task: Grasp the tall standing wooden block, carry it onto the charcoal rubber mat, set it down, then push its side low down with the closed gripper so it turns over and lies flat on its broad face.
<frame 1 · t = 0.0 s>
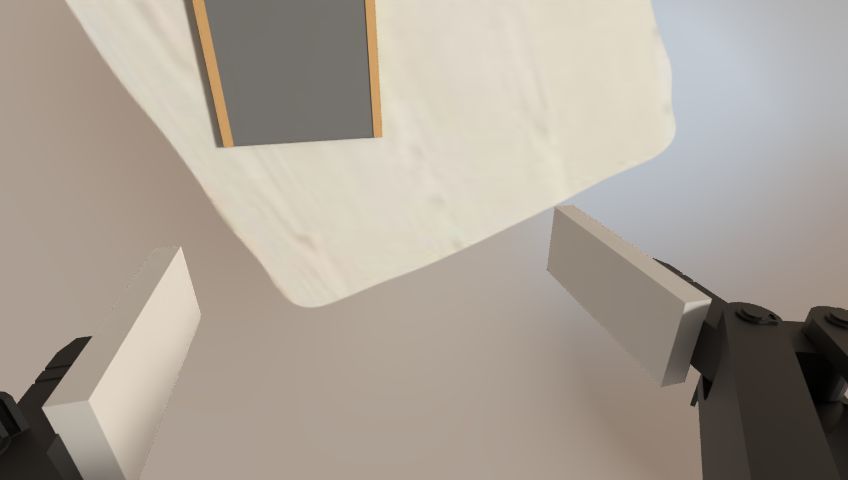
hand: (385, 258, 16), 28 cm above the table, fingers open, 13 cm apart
mat: (295, 58, 37), on the table
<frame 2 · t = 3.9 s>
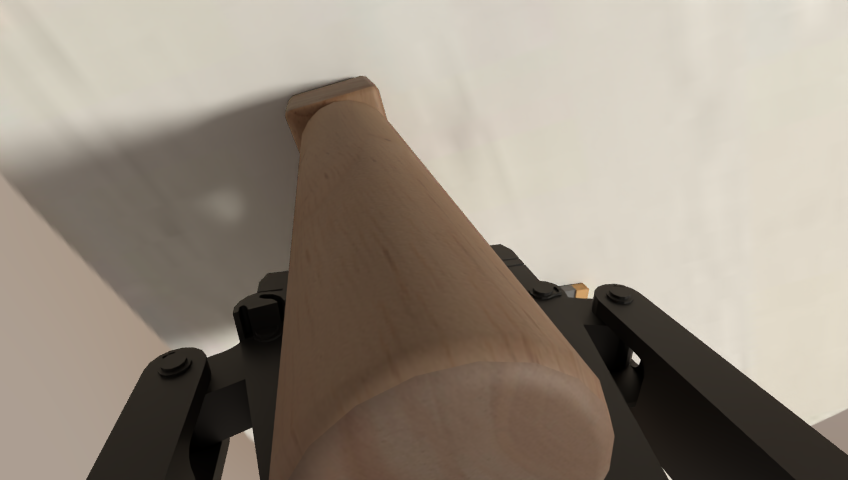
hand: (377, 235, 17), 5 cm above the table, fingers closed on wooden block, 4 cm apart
mat: (471, 387, 29), on the table
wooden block: (364, 194, 22), on the table, touching gripper
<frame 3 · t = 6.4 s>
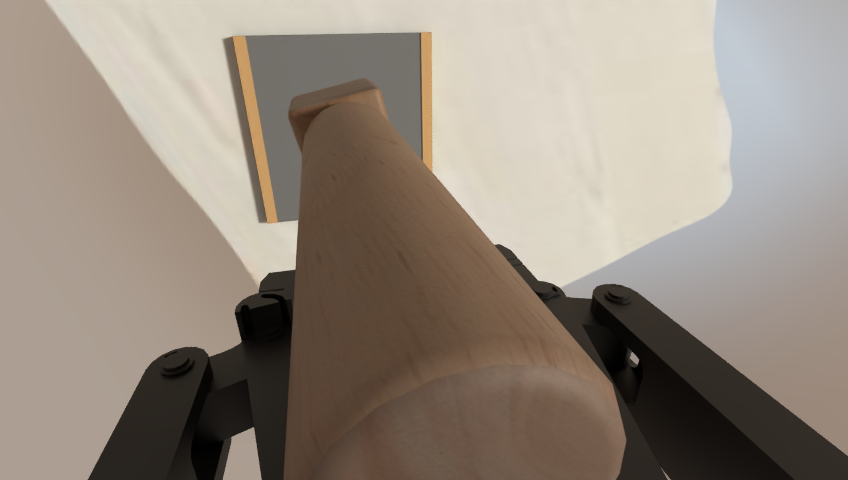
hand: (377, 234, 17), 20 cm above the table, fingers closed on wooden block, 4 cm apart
mat: (344, 130, 35), on the table
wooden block: (364, 195, 22), point 15 cm above the table, touching gripper
when the fingers open (6 cm above the table, at t = 9.1 s): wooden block stays where it is, resting on mat.
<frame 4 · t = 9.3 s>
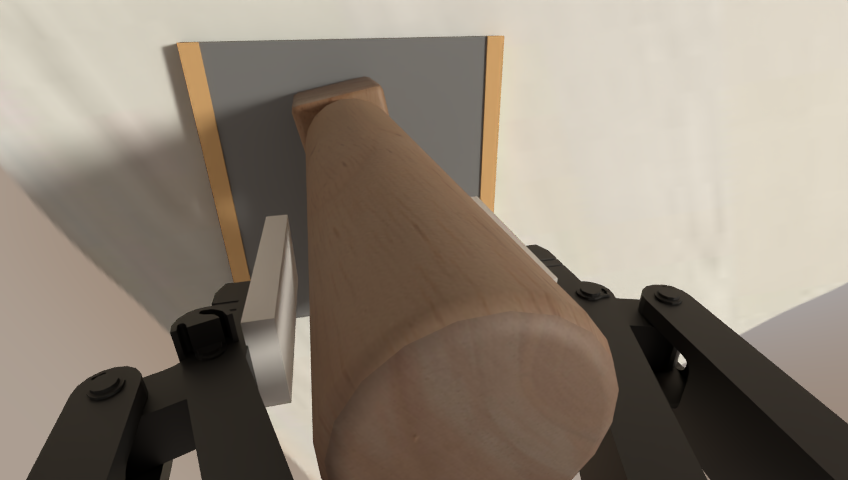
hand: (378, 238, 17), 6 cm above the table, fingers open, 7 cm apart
mat: (362, 187, 23), on the table
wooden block: (362, 191, 22), resting on mat
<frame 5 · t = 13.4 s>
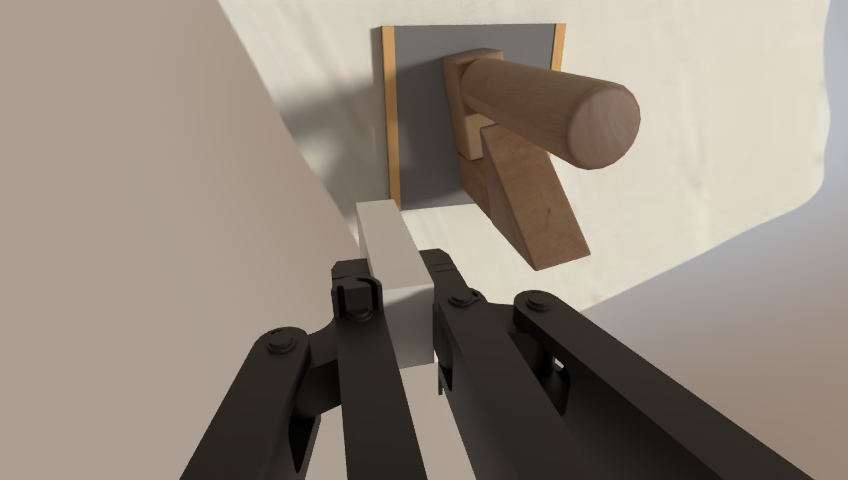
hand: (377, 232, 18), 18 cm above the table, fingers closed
mat: (471, 120, 36), on the table
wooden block: (472, 122, 35), resting on mat
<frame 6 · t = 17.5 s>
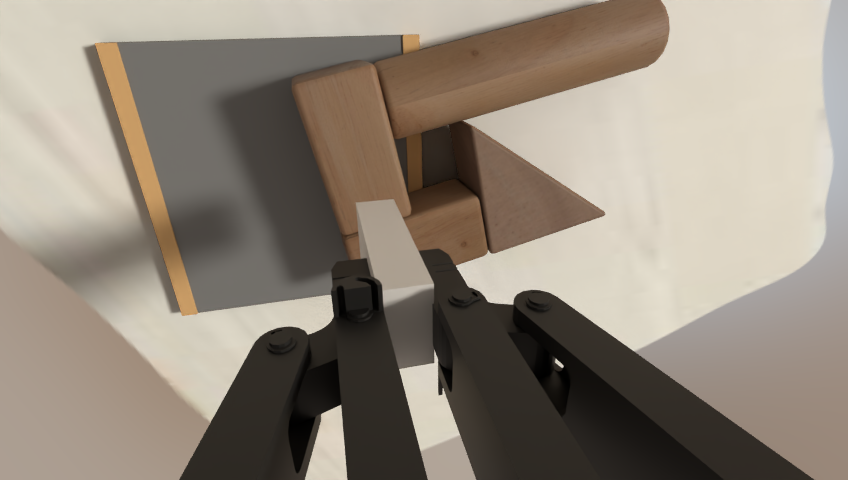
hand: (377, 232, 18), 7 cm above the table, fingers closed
mat: (292, 181, 23), on the table
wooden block: (322, 194, 21), point 3 cm above the table, touching mat
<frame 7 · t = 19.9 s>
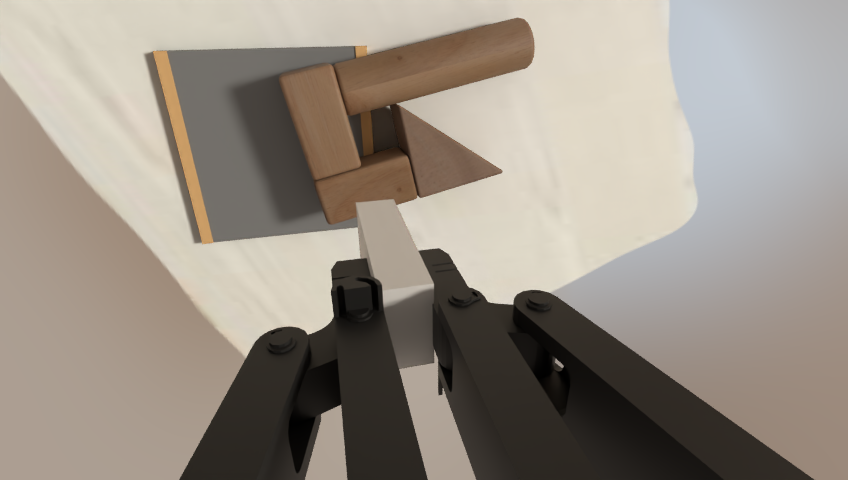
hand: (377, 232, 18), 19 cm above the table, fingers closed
mat: (281, 147, 34), on the table
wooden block: (300, 153, 32), point 3 cm above the table, touching mat
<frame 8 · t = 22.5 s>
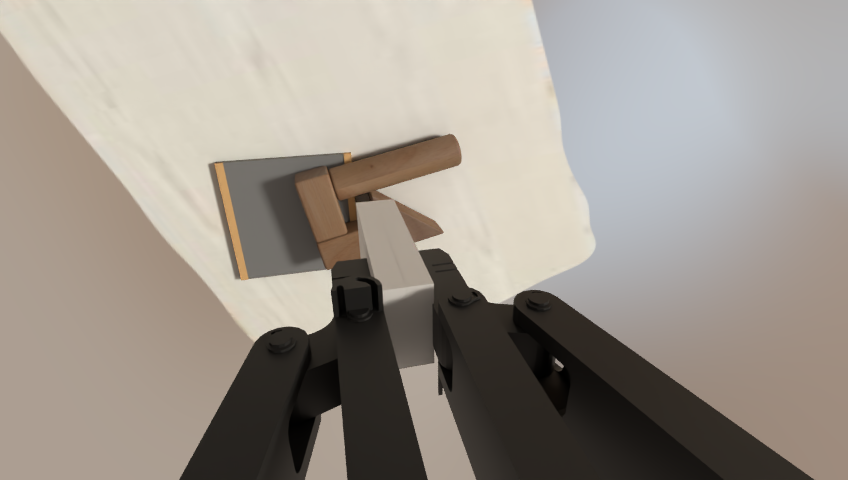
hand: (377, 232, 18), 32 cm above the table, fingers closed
mat: (294, 216, 50), on the table
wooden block: (308, 224, 48), point 3 cm above the table, touching mat
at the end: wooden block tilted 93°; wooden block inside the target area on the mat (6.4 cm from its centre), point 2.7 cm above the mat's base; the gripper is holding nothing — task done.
